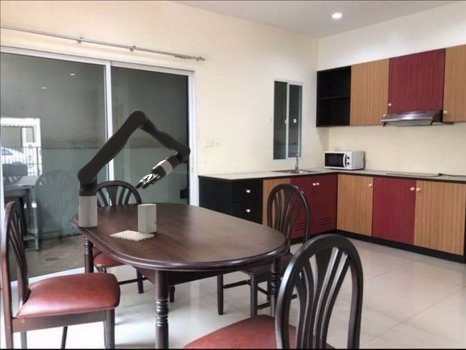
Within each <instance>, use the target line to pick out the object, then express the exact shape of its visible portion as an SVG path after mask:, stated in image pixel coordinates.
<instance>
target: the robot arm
mask: <svg viewBox="0 0 466 350" xmlns="http://www.w3.org/2000/svg"><path fill="white" fill-rule="evenodd" d="M137 129H138V130H141V131H143V132H145V133H146V134H148V135H150V136H151V137H152V138H153V139H155V140H156V141H157V142H158V143H159V144H160V145H162V146H163V147H164V148H165V149H167V150H169V151H176V153H175V154H171V155H169V156H167V157H166V158H165V159H164V160H162V161H160V162H159V163H158V164H156V165H155V166H154V167H153V168H151V170H150V171H151V172H150V173H151V174H146V175H145V176H144V177H142V178H140V180H139V181H138V183H137V184H136V185H134V188H135V189H136V190H138V189H140V188H142V189H143V190H145V189H147V188H148V187H150V186H152V185H155V184H156V183H157V182H158V181H162V179H164V178H165V177H166V176H168V175H169V174H171V173H172V171H173V170H175V169H176V168H177V167H179V165H181V164H184V163H185V162H187V160H188V159H189V157H190V154H191V152H192V151H191V150H192V149H191V148H190V147H189V145H187V144H186V143H184V142H182V141H180V140H178V139H176V138H175V137H173V136H172V135H170V134H169V133H168V132H166V131H165V130H163V129H162V128H160V127H159V126H158V125H156V124H155V123H153V121H152V120H151V119H150V118H149V117H148V116H147V114H146V113H145V112H144V111H143V110H140V109H135V110H133V111H131V113H130V114H129V115H128V116H127V118H126V119H125V121H124V122H123V123H122V125H121V126H120V127H118V129H117V130H116V131H114V133H113V134H112V135H111V136H110V137H109V138H108V139H107V140H106V141H105V142H104V143H103V145H102V146H101V147H100V148H99V149H98V151H97V152H96V154H94V156H93V157H92V158H91V159H90V160H89V161H88V162H87V163H86V164H85V165H84V166H82V168H80V169H79V170H78V172H77V176H76V177H77V179H78V181H79V190H78V200H79V201H78V206H79V207H78V209H77V213H78V219H77V220H78V226H79V227H80V228H93V227H94V228H95V227H97V226H98V202H97V201H98V200H97V198H98V195H97V191H98V174H99V173H100V172H101V170H102V169H103V168H104V167H105V166H106V165H108V164H109V163H110V162H111V161H112V160H113V159H114V158H116V157H117V156H118V155H119V154H120V153H121V151H122V150H123V149H124V148H125V146H126V145H127V143H128V141H129V139H130V137H131V136H132V134H134V132H135V131H136V130H137Z"/></svg>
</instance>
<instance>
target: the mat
mask: <svg viewBox="0 0 466 350" xmlns="http://www.w3.org/2000/svg"><path fill="white" fill-rule="evenodd" d="M154 236H155V234H153V233H149V234H146V233H140V232H138V231H135V230H134V231H133V230H124V231H120V232H117V233H112V234H110V235H109V237H110V238H116V239H120V238H121V239H122V240H126V239H127V240H128V241H132V240H133V241H132V242H139V240H140V241H143V239H144V240H147V239H150V238H154ZM146 238H147V239H146ZM121 239H120V240H121ZM127 240H126V241H127Z"/></svg>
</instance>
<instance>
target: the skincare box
mask: <svg viewBox="0 0 466 350" xmlns="http://www.w3.org/2000/svg"><path fill="white" fill-rule="evenodd" d="M137 232H140V233H146V234H153V233H155V232H157V204H156V203H142V204H138V205H137Z"/></svg>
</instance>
